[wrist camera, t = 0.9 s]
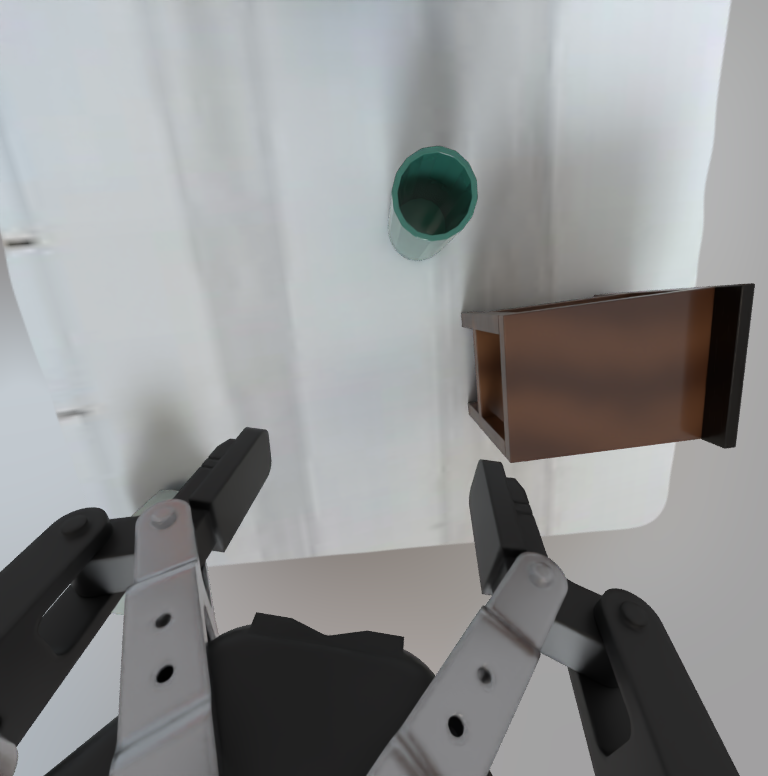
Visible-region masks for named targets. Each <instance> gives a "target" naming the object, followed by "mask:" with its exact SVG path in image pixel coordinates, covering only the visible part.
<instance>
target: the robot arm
mask: <svg viewBox="0 0 768 776" xmlns="http://www.w3.org/2000/svg"><path fill="white" fill-rule="evenodd" d="M270 469H271V452H270V443H269V434H268V431H267V430H264V429H257V428H249V427H246V428H245V429H244V430H243V431H242V432H241V433H240V435H239V436H238V437H237V438H236V439H229V440H227V441H225V442H224V443H222V444H221V445H219V446H217V447H216V449H215V450H214V451H213V452H212V453H211V454H210V456H209V458H208V459H206V460H205V461H204V463H203V464H202V466H201V467H199V469H198V470H197V471H196V472H195V473H194V474H193V476H192V477H191V478H190V479H189V480H188V481H187V483H186V484H185V485H184V486H183V487H182V488H181V490H180V491H179V492H178V493H177V494H176V495H175V497H174V498H173V499H168V500H164V501H161V502H158V503H156V504H154V505H152V506H151V507H149V508H148V509H146V510H145V511H144V512H143V513H142V514H141V515H140V516H133V517H125V518H117V519H109V518H108V516H107V514H106V512H105V511H104V510H102V509H100V508H92V507H91V508H85V509H80V510H76V511H74V512H71V513H69V514H67V515H65V516H63V517H61V518H60V519H58V520H57V521H56V522H54V523H53V524H52V525H51V526H50V527H49V528H48V529H46V530H45V531H44V532H43V533H42V534H41V535H40V536H39V537H38V538H37V539H36V540H34V541H33V542H32V543H31V544H30V545H29V546H28V547H27V548H26V549H25V550H24V551H23V552H22V553H21V554H19V555H18V556H17V557H16V558H15V559H14V560H13V561H12V562H11V563H10V564H9V565H8V566H6V567H5V568H4V569H3V570H2V571H1V572H0V776H13V774H14V772H15V769H16V766H17V761H18V751H17V748H16V747H17V745H18V744H19V743H20V741H21V740H22V738H23V737H24V736H25V734H26V733H27V731H28V730H29V728H30V727H31V726H32V724H33V723H34V721H35V720H36V719H37V717H38V716H39V714H40V713H41V711H42V710H43V709H44V707H45V706H46V704H47V703H48V701H49V700H50V699H51V697H52V696H53V694H54V693H55V692H56V690H57V689H58V687H59V686H60V685H61V683H62V682H63V680H64V679H65V677H66V676H67V675H68V673H69V672H70V670H71V669H72V668H73V666H74V665H75V663H76V662H77V660H78V659H79V658H80V656H81V655H82V653H83V652H84V650H85V649H86V648H87V646H88V645H89V643H90V642H91V641H92V639H93V638H94V636H95V635H96V634H97V632H98V630H99V629H100V628H101V626H102V625H103V624H104V622H105V621H106V619H107V618H108V616H109V615H110V614H111V612H112V611H113V609H114V608H115V607H116V605H117V604H118V602H119V601H120V600H121V598H122V597H123V595H124V594H125V604H124V623H123V641H122V659H121V678H120V696H119V715H118V716H117V717H116V718H114V719H113V720H112V721H111V722H110V723H109V724H107V725H106V726H105V727H103V728H102V729H101V730H100V731H98V732H97V733H96V734H95V735H94V736H92V737H91V738H90V739H89V740H87V741H86V742H85V743H84V744H82V745H81V746H80V747H79V748H77V749H76V750H75V751H74V752H73V753H71V754H70V755H69V756H68V757H66V758H65V759H64V760H63V761H62V762H60V763H59V764H58V765H57V766H55V767H54V768H53V769H52V770H50V771H49V772H48V773H47V774H45V775H44V776H492V774H491V772H490V770H489V769H490V767H491V765H492V763H493V760H494V758H495V756H496V754H497V752H498V749H499V747H500V745H501V743H502V740H503V738H504V736H505V734H506V732H507V729H508V727H509V725H510V723H511V720H512V718H513V716H514V714H515V712H516V709H517V707H518V705H519V703H520V701H521V698H522V696H523V694H524V691H525V690H526V687H527V685H528V683H529V680H530V678H531V676H532V674H533V672H534V669H535V667H536V665H537V663H538V660H539V658H540V653H542V654H544V655H546V656H548V657H550V658H552V659H554V660H556V661H558V662H559V663H561V664H563V665H565V666H567V667H568V671H569V675H570V679H571V682H572V686H573V690H574V694H575V698H576V702H577V706H578V710H579V714H580V718H581V721H582V726H583V729H584V733H585V737H586V741H587V745H588V749H589V753H590V756H591V761H592V765H593V768H594V772H595V776H740V775H739V773H738V772H737V770H736V768H735V766H734V764H733V762H732V760H731V758H730V756H729V754H728V752H727V750H726V748H725V746H724V744H723V742H722V740H721V738H720V736H719V734H718V732H717V730H716V728H715V726H714V724H713V722H712V721H711V718H710V716H709V714H708V713H707V711H706V709H705V707H704V705H703V703H702V701H701V699H700V697H699V695H698V693H697V691H696V689H695V687H694V685H693V683H692V681H691V679H690V677H689V675H688V673H687V671H686V669H685V667H684V665H683V663H682V661H681V659H680V658H679V655H678V653H677V652H676V650H675V648H674V646H673V644H672V642H671V640H670V638H669V636H668V634H667V632H666V630H665V628H664V626H663V624H662V622H661V620H660V619H659V617H658V616H657V614H656V613H655V612H654V610H653V609H652V608H651V607H650V606H649V605H647V603H646V602H644V601H643V600H642V599H640V598H639V597H637V596H636V595H634V594H632V593H630V592H628V591H625V590H622V589H609V590H607V591H605V593H604V594H603V595H599V594H597V593H595V592H593V591H590V590H588V589H586V588H584V587H581V586H579V585H577V584H575V583H573V582H571V581H570V580H568V579H567V578H566V577H565V575H564V573H563V571H562V570H561V569H560V568H559V566H558V565H557V564H556V563H555V562H553V561H552V560H551V559H550V558H548V556H547V554H546V551H545V548H544V545H543V542H542V539H541V536H540V533H539V530H538V527H537V525H536V522H535V519H534V516H533V515H532V510H531V507H530V505H529V501H528V498H527V495H526V493H525V490H524V489H523V487H522V486H521V485H520V484H519V483H518V481H517V480H516V479H515V478H508V477H506V475H505V471H504V468H503V465H502V463H501V462H496V461H489V460H481V459H480V460H479V462H478V465H477V468H476V472H475V475H474V479H473V482H472V485H471V489H470V495H469V507H470V514H471V521H472V528H473V535H474V542H475V548H476V556H477V562H478V570H479V576H480V583H481V590H482V594H485V595H492V597H491V598H490V599H489V601H488V602H487V604H486V605H485V606H482V607H481V609H480V610H479V612H478V613H477V614H476V616H475V617H474V619H473V620H472V622H471V623H470V625H469V626H468V628H467V629H466V631H465V632H464V634H463V635H462V637H461V638H460V640H459V641H458V643H457V644H456V646H455V647H454V649H453V650H452V652H451V653H450V655H449V657H448V658H447V659H446V661H445V662H444V664H443V665H442V667H441V668H440V670H439V671H438V673H437V675H436V676H435V675H434V673H433V672H432V671H431V670H430V669H429V668H428V667H427V666H426V665H425V664H424V663H423V662H422V661H421V660H420V659H418V658H417V657H416V656H414V655H413V654H411V653H410V652H408V651H406V650H404V649H403V645H404V637H401V636H396V635H390V634H384V633H378V632H372V631H361V632H353V633H346V634H338V635H330V636H327V635H324V634H322V633H320V632H318V631H316V630H314V629H312V628H310V627H308V626H306V625H304V624H302V623H300V622H298V621H296V620H294V619H292V618H287V617H281V616H275V615H268V614H263V613H256V615H255V617H254V619H253V622H252V624H251V625H246V626H242V627H239V628H235V629H233V630H230V631H228V632H226V633H224V634H222V635H220V636H219V633H218V628H217V624H216V619H215V614H214V607H213V601H212V594H211V588H210V581H209V575H208V568H207V563H206V559H207V558H208V556H209V554H210V553H211V551H212V550H213V551H219V552H225V550H226V548H227V547H228V545H229V543H230V541H231V540H232V538H233V536H234V534H235V533H236V531H237V529H238V527H239V526H240V524H241V522H242V521H243V519H244V517H245V515H246V514H247V512H248V510H249V508H250V507H251V505H252V503H253V501H254V500H255V498H256V496H257V494H258V493H259V491H260V489H261V488H262V486H263V484H264V482H265V481H266V479H267V477H268V475H269V472H270ZM69 584H71V585H70V586H69ZM68 586H69V587H68ZM67 587H68V588H67ZM66 588H67V589H66ZM65 589H66V590H65ZM64 590H65V592H64V593H63V594H62V592H63V591H64ZM61 594H62V595H61ZM60 595H61V596H60ZM59 596H60V597H59ZM58 597H59V599H58V600H57V601H56V599H57V598H58ZM55 601H56V602H55ZM54 602H55V603H54ZM53 603H54V604H53ZM52 604H53V606H52V607H51V608H50V609H49V607H50V606H51V605H52ZM48 609H49V610H48ZM47 610H48V611H47ZM46 611H47V612H46ZM45 612H46V614H45ZM44 614H45V615H44ZM43 615H44V616H43Z"/></svg>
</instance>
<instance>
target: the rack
mask: <svg viewBox="0 0 768 776" xmlns="http://www.w3.org/2000/svg"><path fill="white" fill-rule="evenodd" d="M754 288H755V284H752V283H751V284H738V285H725V286H708V287H693V288H679V289H665V290H650V291H636V292H622V293H607V294H600V295H594V297H592V298H585V299H577V300H570V301H563V302H555V303H548V304H540V305H533V306H526V307H518V308H511V309H503V310H496V311H489V312H467V313H461V318H462V327H466V328H470V329H473V339H474V353H475V368H476V382H477V396H478V401H477V402H469V403H468V408H469V415H470V416H471V417H472V419H473V420H474V421H475V422H476V423H477V424H478V426H479V427H480V428H481V429H482V430H483V431H484V433H485V434H486V435H487V436H488V437H489V438H490V440H491V441H492V442H493V443H494V444H495V445H496V447H497V448H498V449H499V450H500V451H501V452H502V454H503V455H504V456H505V457H506V458H507V459H508V460H509V462H510V463H514V462H522V461H530V460H538V459H546V458H554V457H561V456H569V455H577V454H585V453H593V452H601V451H608V450H616V449H624V448H632V447H640V446H648V445H655V444H663V443H671V442H679V441H687V440H695V439H702V440H705V441H707V442H710V443H712V444H715V445H717V446H720V447H722V448H732V447H736V439H737V431H738V422H739V414H740V406H741V397H742V388H743V380H744V372H745V363H746V355H747V347H748V338H749V330H750V320H751V312H752V304H753V296H754Z"/></svg>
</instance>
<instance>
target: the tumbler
mask: <svg viewBox="0 0 768 776" xmlns="http://www.w3.org/2000/svg"><path fill="white" fill-rule="evenodd" d="M477 199H478V194H477V180H476V177H475V175H474V173H473V171H472V168H471V166H470V164H469V163H468V162H467V161H466V160H465V159H464V158H463V157H462V156H461V155H460V154H459V153H458V152H456V151H455V150H451V149H448V148H445V147H442V146H434V147H427V148H422V149H420V150H418V151H417V152H415V153H414V154H412V155H411V156H409V157H407V158H406V160H405V161H404V163H403V164H402V165H401V167H400V168H399V170H398V171H397V173H396V176H395V180H394V184H393V188H392V193H391V202H390V212H389V221H388V231H389V238H390V241H391V243H392V245H393V247H394V249H395V250H396V251H397V252H398V253H399V254H400V255H402V256H403V257H405V258H407V259H409V260H414V261H422V260H426V259H429V258H431V257H433V256H434V255H435V254H437V253H438V252H440V251H441V250H442V249H443V248H444V247H445V246H446V245H447V244H448V243H449V242H450V241H451V240H452V239H453V238H454V237H455V236H456V235H457V234H458V233H459V232H460V231H461V230H462V229H463V228H464V227H465V225H466V224H467V223H468V221H469V220H470V219H471V217H472V216H473V213H474V209H475V206H476V203H477Z"/></svg>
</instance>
